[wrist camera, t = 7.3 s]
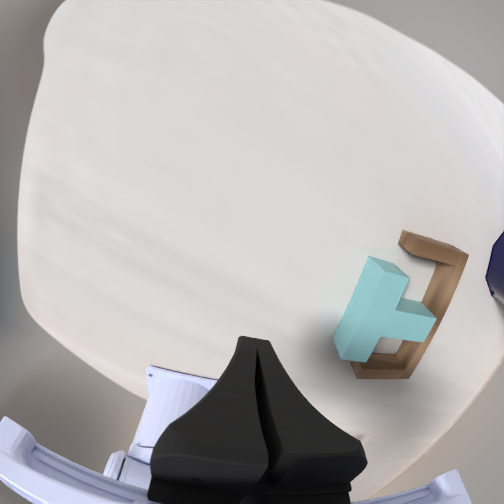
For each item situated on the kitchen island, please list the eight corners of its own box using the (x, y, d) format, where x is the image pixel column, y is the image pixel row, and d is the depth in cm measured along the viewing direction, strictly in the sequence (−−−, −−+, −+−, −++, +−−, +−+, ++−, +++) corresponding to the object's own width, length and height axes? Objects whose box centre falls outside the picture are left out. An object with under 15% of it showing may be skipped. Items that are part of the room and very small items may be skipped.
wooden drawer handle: (399, 363, 25) (408, 378, 23) (349, 361, 25) (357, 378, 22) (452, 245, 21) (468, 255, 18) (402, 230, 20) (417, 239, 18)
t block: (396, 347, 24) (408, 366, 21) (332, 337, 24) (340, 359, 21) (433, 275, 22) (451, 290, 19) (368, 256, 21) (383, 270, 18)
